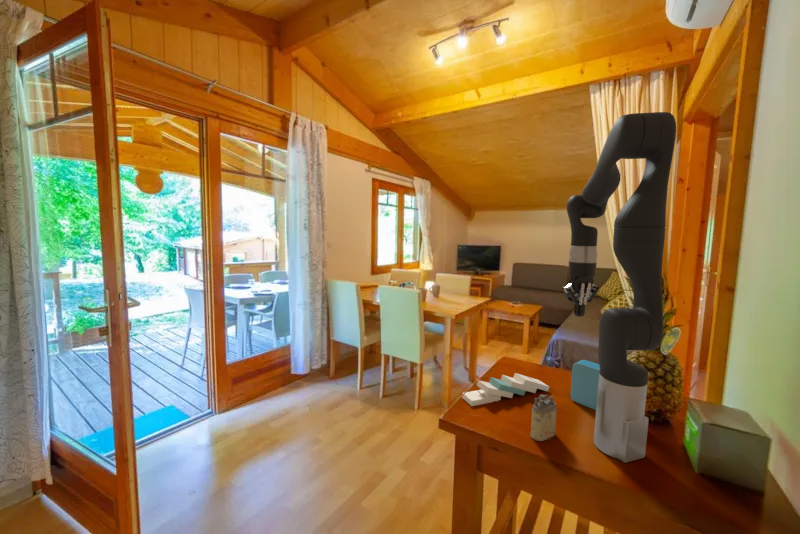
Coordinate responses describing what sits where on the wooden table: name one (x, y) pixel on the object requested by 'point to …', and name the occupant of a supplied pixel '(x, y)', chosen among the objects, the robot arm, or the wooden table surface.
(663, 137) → the robot arm
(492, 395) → the domino
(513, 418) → the wooden table surface
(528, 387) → the domino
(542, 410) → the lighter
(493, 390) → the domino
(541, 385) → the domino
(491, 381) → the domino
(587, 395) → the blue flat block
